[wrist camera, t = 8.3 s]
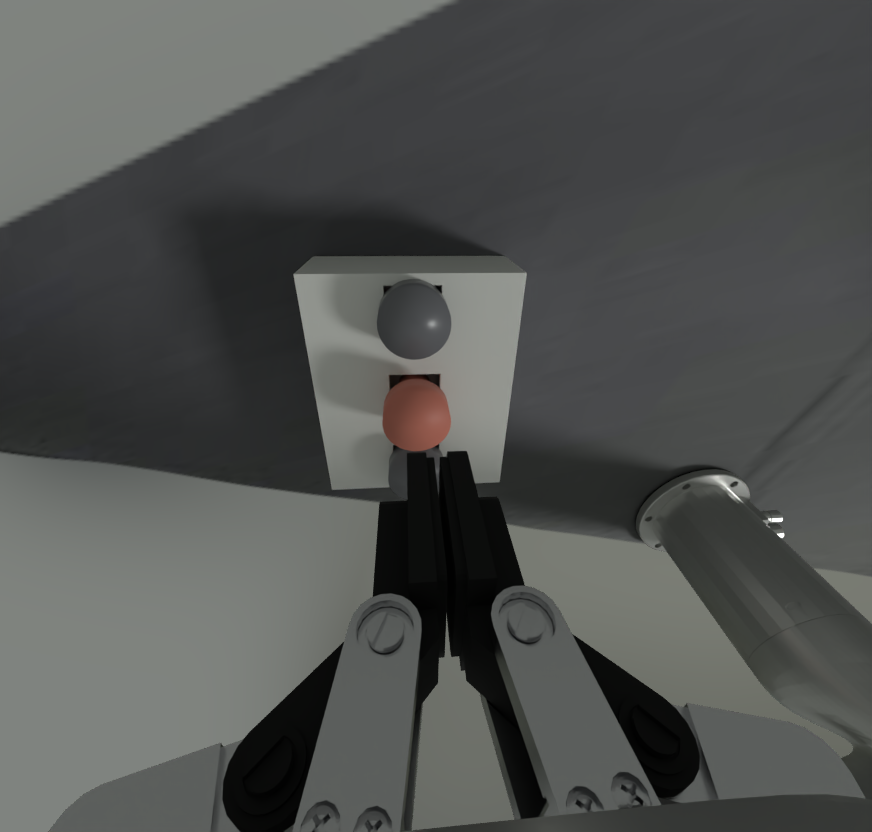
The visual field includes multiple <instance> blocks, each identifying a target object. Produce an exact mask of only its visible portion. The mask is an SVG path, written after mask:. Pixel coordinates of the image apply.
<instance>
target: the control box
mask: <svg viewBox="0 0 872 832" xmlns="http://www.w3.org/2000/svg"><path fill="white" fill-rule="evenodd" d="M293 275H294V280H295V286H296V292H297V297H298V303H299V308H300V314H301V319H302V325H303V331H304V336H305V342H306V347H307V353H308V359H309V364H310V370H311V375H312V381H313V386H314V392H315V398H316V403H317V409H318V414H319V420H320V426H321V431H322V437H323V442H324V448H325V453H326V459H327V465H328V470H329V476H330V481H331V487H332V490H340V489H362V488H384V487H390V486H389V482H388V474H389V459H390V456H391V454H392V452H393V451H394V450H395V449H396V448H397V446H396V445H394V444H393V443H392V442H391V441H390V440H389V439H388V438H387V437H386V435H385V433H384V430H383V425H382V420H383V407H384V401H385V398H386V396H387V394H388V392H389V391H390V390H391V389H392V388H393V387H394V386H395V385H397V384H398V383H399V379H400V377H401V376H402V375H413V374H426V375H427V376H428V378H429V380H430V382H432V383H434V384H436V385H437V386H438V387H439V388H440V389H441V390H442V391H443V392H444V394H445V396H446V398H447V402H448V407H449V412H450V417H451V427H450V430H449V433H448V434H447V436H446V437H445V439H444V440H443V441H442V442H441V443H439V444H438V445H436V447H437V448H438V449H439V450H440V451H441V453H442V455H443V457H447V451H467V453H468V456H469V461H470V465H471V469H472V473H473V477H474V482H475V483H494V482H500V475H501V467H502V459H503V452H504V444H505V436H506V428H507V421H508V413H509V405H510V398H511V390H512V382H513V375H514V367H515V359H516V351H517V344H518V336H519V328H520V321H521V313H522V305H523V298H524V290H525V282H526V275H527V273H526V272H525V271H524V270H522V269H521V268H520V267H518V266H517V265H516V264H514V263H513V262H512V261H511V260H509V259H508V258H507V257H505V256H313V257H312V258H311V259H310V260H308V261H307V262H306V263H305V264H304V265H303V266H302V267H301V268H300V269H299V270H297V271H296V272H295V273H294V274H293ZM407 279H419V280H423V281H426V282H428V283H430V284H432V285H433V286H435V287H436V288H437V289H438V290H439V291H440V292H441V293H442V295H443V297H444V299H445V301H446V303H447V306H448V309H449V312H450V315H451V332H450V335H449V338H448V340H447V342H446V343H445V345H444V346H443V347H442V348H441V349H440V350H439V351H438V352H437V353H435V354H433V355H432V356H430V357H427V358H424V359H418V360H410V359H405V358H401V357H399V356H397V355H395V354H393V353H392V352H391V351H389V350H388V349H387V348H386V347H385V345H384V344H383V342H382V341H381V339H380V337H379V334H378V330H377V316H378V310H379V305H380V301H381V299H382V297H383V295H384V294H385V292H386V291H387V290H388V289H389V288H390V287H391V286H393V285H394V284H396V283H398V282H400V281H403V280H407Z"/></svg>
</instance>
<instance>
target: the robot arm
mask: <svg viewBox="0 0 872 832" xmlns="http://www.w3.org/2000/svg"><path fill="white" fill-rule="evenodd" d="M782 519H783V517H782V514H781V513H780V512H779V511H777V510H769V511H759V510H758V509H757V508H756V507H755V506H754V505H753V504H752V503H751V502H750V491H749V489H748V487H747V485H746V484H745V483H744V482H743V481H742V480H741V479H740V478H739V477H738V476H736V475H735V474H733V473H731V472H728V471H725V470H718V469H709V470H700V471H695V472H691V473H688V474H685V475H682V476H680V477H678V478H675V479H673V480H671V481H670V482H668V483H666V484H665V485H663V486H661V487H660V488H659V489H658V490H656V491H655V492H654V493H653V494H652V495H651V496H650V497H649V498H648V499H647V500H646V501H645V502H644V504H643V505H642V507H641V508H640V510H639V513H638V515H637V519H636V530H637V532H638V535H639V536H640V538H641V539H642V540H643V542H644V543H645V544H646V545H647V546H649V547H651V548H652V549H655V550H659V551H664V552H667V553H668V554H669V556H670V557H671V558H672V560H673V561H674V562H675V564H676V565H677V567H678V568H679V570H680V571H681V572H682V574H683V575H684V577H685V578H686V579H687V581H688V582H689V584H690V585H691V587H692V588H693V589H694V591H695V592H696V594H697V595H698V596H699V598H700V599H701V601H702V602H703V603H704V605H705V606H706V608H707V609H708V610H709V612H710V613H711V615H712V616H713V617H714V619H715V620H716V622H717V623H718V625H719V626H720V627H721V629H722V630H723V632H724V633H725V634H726V636H727V637H728V639H729V640H730V641H731V643H732V644H733V646H734V647H735V648H736V650H737V651H738V653H739V654H740V656H741V657H742V658H743V660H744V661H745V663H746V664H747V665H748V667H749V668H750V669H751V671H752V672H753V674H754V675H755V676H756V678H757V679H758V681H759V682H760V683H761V684H762V686H763V687H764V688H765V689H766V690H767V691H768V692H769V694H770V695H771V696H772V697H773V698H775V699H776V700H777V701H778V702H779V703H780V704H782V705H783V706H784V707H786V708H787V709H789V710H790V711H792V712H793V713H795V714H797V715H799V716H800V717H802V718H804V719H806V720H808V721H810V722H812V723H814V724H816V725H818V726H820V727H823V728H825V729H827V730H829V731H831V732H833V733H835V734H837V735H839V736H841V737H843V738H845V739H846V740H847V741H849V742H850V743H851V744H852V746H853V751H852V752H851V753H850V754H849V755H847V756H845V757H842V758H840V757H839V755H838V754H837V753H836V752H835V751H834V750H833V749H832V748H831V747H830V746H829V745H828V744H827V743H826V742H825V741H824V740H823V739H821V738H820V737H818V736H817V735H815V734H814V733H812V732H811V731H809V730H807V729H806V728H804V727H801V726H798V725H796V724H793V723H790V722H786V721H781V720H775V719H770V718H765V717H759V716H754V715H748V714H743V713H738V712H732V711H727V710H722V709H716V708H711V707H705V706H700V705H695V704H690V703H687V704H686V705H685V706H684V707H681V706H676V705H671V704H670V703H669V702H668V701H667V700H666V699H664V698H663V697H662V696H660V695H659V694H658V693H656V692H655V691H653V690H652V689H650V688H649V687H648V686H646V685H644V684H643V683H642V682H640V681H639V680H638V679H636V678H635V677H633V676H632V675H630V674H629V673H627V672H626V671H625V670H623V669H622V668H620V667H619V666H617V665H616V664H615V663H613V662H612V661H610V660H609V659H607V658H606V657H604V656H603V655H602V654H600V653H599V652H597V651H596V650H594V649H593V648H591V647H590V646H589V645H587V644H586V643H584V642H583V641H581V640H580V639H579V638H577V637H576V636H574V635H573V634H572V633H571V631H570V629H569V627H568V625H567V623H566V621H565V620H564V618H563V616H562V614H561V612H560V610H559V609H558V607H557V606H556V604H555V603H554V602H553V600H552V599H550V598H549V597H548V596H547V595H546V594H545V593H543V592H541V591H539V590H537V589H535V588H532V587H528V586H525V585H524V581H523V578H522V575H521V571H520V568H519V565H518V561H517V559H516V555H515V552H514V548H513V545H512V541H511V538H510V535H509V532H508V528H507V525H506V521H505V518H504V515H503V511H502V508H501V505H500V502H499V499H498V498H497V497H481V498H478V494H477V490H476V486H475V482H474V477H473V473H472V469H471V465H470V461H469V456H468V453H467V451H447V457H440V465H439V496H438V488H437V479H436V470H435V461H434V457H427V456H426V452H417V453H407V501H391V502H380V505H379V518H378V531H377V545H376V560H375V573H374V587H373V597H372V598H370V599H368V600H367V601H365V602H364V603H363V604H361V605H360V606H359V608H358V609H357V610H356V611H355V613H354V614H353V616H352V619H351V621H350V623H349V626H348V630H347V633H346V637H345V641H344V642H343V643H342V644H341V645H340V646H339V647H338V648H337V649H336V650H335V651H334V652H333V653H332V654H331V655H330V656H329V657H327V659H325V660H324V661H323V662H322V663H321V664H320V665H319V666H318V667H317V668H316V669H315V670H314V671H313V672H312V673H311V674H310V675H309V676H308V677H307V678H306V679H305V680H303V682H301V683H300V685H298V686H297V687H296V688H295V689H294V690H293V691H292V692H291V693H290V694H289V695H288V696H287V697H286V698H285V699H284V700H283V701H282V702H280V704H278V705H277V706H276V707H275V708H274V709H273V710H272V711H271V712H270V713H269V714H268V715H267V716H266V717H265V718H264V719H263V720H262V721H261V722H260V723H259V724H258V725H256V726H255V727H254V728H253V729H252V730H251V731H250V732H249V733H248V735H247V736H246V737H245V738H244V739H243V740H240V741H238V742H235V743H232V744H229V745H226V746H224V747H223V745H222V744H221V743H219V744H216V745H213V746H210V747H207V748H204V749H201V750H199V751H196V752H193V753H190V754H188V755H184V756H182V757H179V758H176V759H173V760H170V761H167V762H165V763H162V764H159V765H156V766H153V767H151V768H147V769H144V770H142V771H139V772H136V773H133V774H130V775H128V776H125V777H122V778H119V779H116V780H113V781H110V782H107V783H105V784H102V785H100V786H98V787H96V788H94V789H92V790H90V791H89V792H87V793H85V794H83V795H82V796H81V797H80V798H79V799H78V800H76V801H75V802H74V803H73V804H72V805H71V806H70V807H68V808H67V809H66V810H65V811H64V812H63V813H62V815H61V816H60V817H59V819H58V820H57V821H56V823H55V824H54V825H53V826H52V827H51V829H50V830H49V831H48V832H872V624H871V623H870V622H869V621H868V620H867V619H866V618H865V617H864V616H863V615H861V614H860V612H858V611H857V610H856V609H855V608H854V607H853V606H852V605H851V604H850V603H849V602H848V601H847V600H846V599H845V598H843V597H842V595H840V594H839V593H838V592H837V591H836V590H835V589H834V588H833V587H832V586H831V585H830V584H829V583H828V582H827V581H826V580H825V579H824V578H823V577H821V575H819V574H818V573H817V572H816V571H815V570H814V569H813V568H812V567H811V566H810V565H809V564H808V563H807V562H806V561H805V560H804V559H803V558H802V557H801V556H799V555H798V554H797V553H796V552H795V551H794V550H793V549H792V548H791V547H790V546H789V545H788V544H787V543H786V542H785V541H784V540H783V539H782V538H783V537H784V531H783V529H782V527H781V526H780V525H778V524H777V523H780V522H781V521H782ZM446 612H447V621H448V632H449V642H450V651H451V656H452V657H454V656H459V658H460V666H461V671H462V670H465V673H466V680H467V682H469V683H470V684H471V685H472V686H473V687H474V688H475V689H476V690H477V691H478V692H479V693H480V696H481V702H482V705H483V709H484V712H485V716H486V720H487V723H488V727H489V730H490V734H491V737H492V740H493V744H494V747H495V751H496V755H497V758H498V762H499V766H500V769H501V772H502V776H503V780H504V783H505V787H506V790H507V794H508V797H509V801H510V805H511V808H512V812H513V815H514V819H515V820H508V821H499V822H489V823H480V824H471V825H460V826H451V827H441V828H432V829H423V830H413V831H412V819H413V809H414V798H415V787H416V775H417V763H418V753H419V741H420V730H421V720H422V708H423V702H424V700H425V699H426V698H427V696H428V695H429V694H430V693H431V691H432V690H433V689H434V687H435V686H436V685H437V683H438V663H439V658H441V657H444V655H445V632H446Z"/></svg>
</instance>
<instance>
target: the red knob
mask: <svg viewBox="0 0 872 832" xmlns="http://www.w3.org/2000/svg"><path fill="white" fill-rule="evenodd" d="M382 425H383V430H384V433H385V435H386V437H387V438H388V439H389V440H390V441H391V442H392V443H393V444H394V445H396V446H397V447H399V448H402V449H404V450H409V451H423V450H427V449H430V448H433V447H435V446H436V445H438V444H439V443H441V442H442V441H443V440H444V439H445V437H446V436H447V434H448V433H449V430H450V427H451V417H450V412H449V407H448V402H447V398H446V396H445V394H444V392H443V391H442V390H441V389H440V388H439V387H438V386H437V385H436V384H434V383H432V382H430V380H429V378H428V376H427V375H426V374H413V375H402V376H401V377H400V379H399V383H398V384H397V385H395V386H394V387H393V388H392V389H391V390H390V391H389V392H388V394H387V396H386V398H385V401H384V407H383V420H382Z"/></svg>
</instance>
